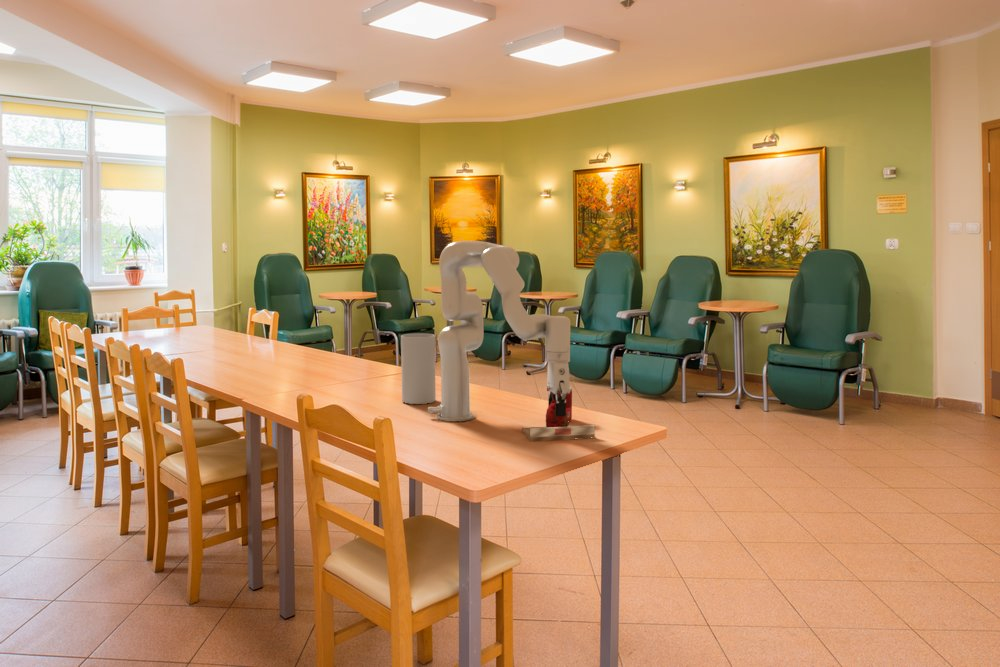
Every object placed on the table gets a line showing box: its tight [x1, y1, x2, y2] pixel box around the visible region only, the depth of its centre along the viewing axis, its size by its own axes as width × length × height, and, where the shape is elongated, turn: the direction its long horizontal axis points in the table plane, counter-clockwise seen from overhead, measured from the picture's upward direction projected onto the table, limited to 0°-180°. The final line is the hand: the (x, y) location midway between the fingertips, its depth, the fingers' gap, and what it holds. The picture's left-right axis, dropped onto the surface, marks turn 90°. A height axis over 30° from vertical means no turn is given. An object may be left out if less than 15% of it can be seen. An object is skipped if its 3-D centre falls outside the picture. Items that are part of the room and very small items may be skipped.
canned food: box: [548, 386, 573, 422], centre depth 251 cm, size 8×8×11 cm
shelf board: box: [521, 424, 596, 442], centre depth 232 cm, size 20×12×4 cm, turn 101°
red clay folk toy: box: [545, 383, 570, 428], centre depth 232 cm, size 8×7×15 cm
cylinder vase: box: [400, 332, 437, 405], centre depth 279 cm, size 12×12×25 cm
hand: (556, 412), depth 232 cm, fingers open, 7 cm apart
